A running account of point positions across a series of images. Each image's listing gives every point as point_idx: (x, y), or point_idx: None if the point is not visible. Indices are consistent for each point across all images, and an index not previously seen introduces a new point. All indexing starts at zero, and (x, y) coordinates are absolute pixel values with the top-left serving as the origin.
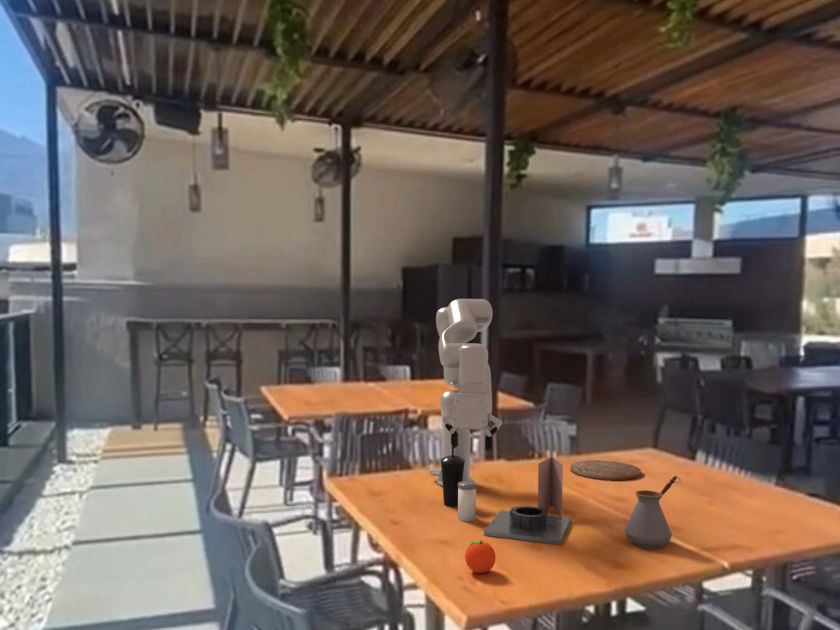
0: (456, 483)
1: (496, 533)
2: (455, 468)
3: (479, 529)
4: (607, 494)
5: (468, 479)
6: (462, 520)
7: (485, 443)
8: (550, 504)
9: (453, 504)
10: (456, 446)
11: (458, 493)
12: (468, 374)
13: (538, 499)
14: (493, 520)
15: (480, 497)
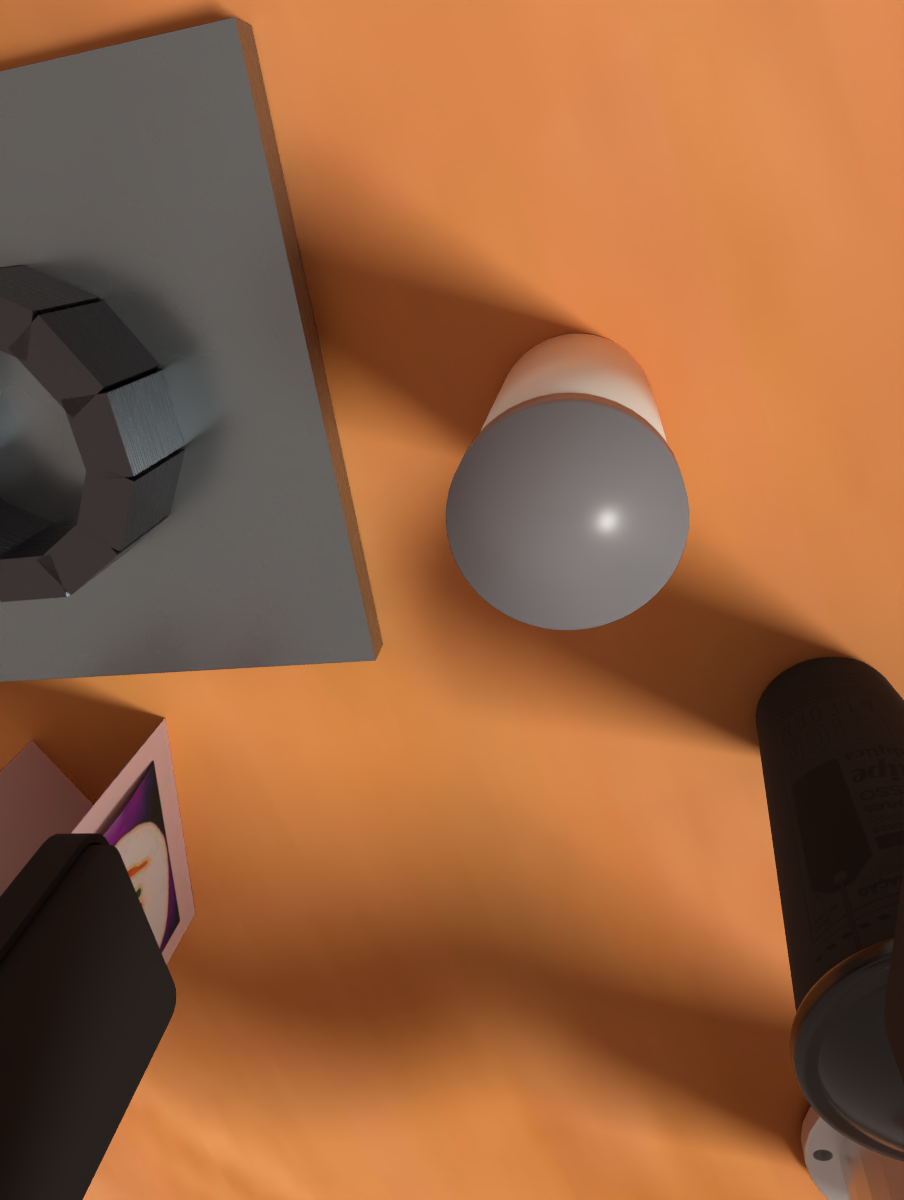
0: (814, 791)
1: (128, 47)
2: (872, 899)
3: (358, 180)
4: None
5: (847, 1166)
6: (585, 335)
7: (12, 972)
8: (188, 913)
9: (797, 674)
10: (900, 951)
11: (657, 426)
12: None
13: (110, 795)
14: (302, 374)
15: (666, 931)
